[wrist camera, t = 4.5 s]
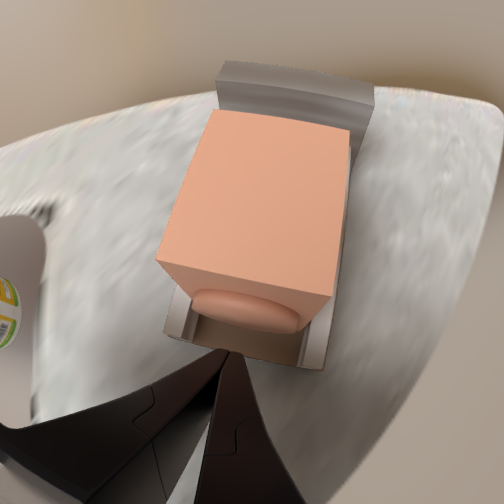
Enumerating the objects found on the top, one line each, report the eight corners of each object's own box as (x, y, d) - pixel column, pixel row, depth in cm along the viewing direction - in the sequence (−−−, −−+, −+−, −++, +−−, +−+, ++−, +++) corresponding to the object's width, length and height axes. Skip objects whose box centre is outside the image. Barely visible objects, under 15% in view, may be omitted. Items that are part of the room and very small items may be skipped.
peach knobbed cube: (297, 343, 15) (328, 318, 8) (198, 321, 16) (148, 278, 9) (319, 223, 17) (349, 130, 10) (230, 206, 18) (213, 109, 11)
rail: (320, 370, 16) (355, 369, 10) (171, 337, 17) (121, 316, 11) (349, 155, 21) (373, 84, 15) (234, 135, 22) (225, 60, 16)
